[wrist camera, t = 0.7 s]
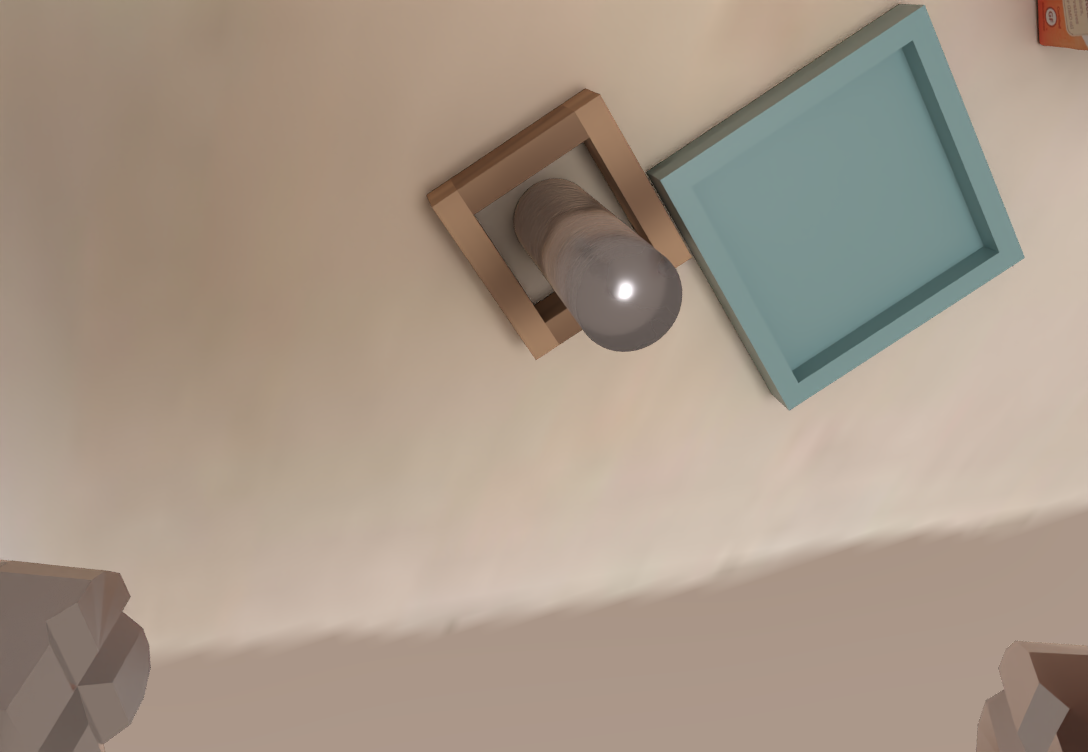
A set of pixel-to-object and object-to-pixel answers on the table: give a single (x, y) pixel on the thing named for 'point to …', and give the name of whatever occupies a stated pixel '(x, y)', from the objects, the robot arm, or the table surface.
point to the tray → (842, 206)
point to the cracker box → (1063, 23)
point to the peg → (598, 266)
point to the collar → (519, 162)
